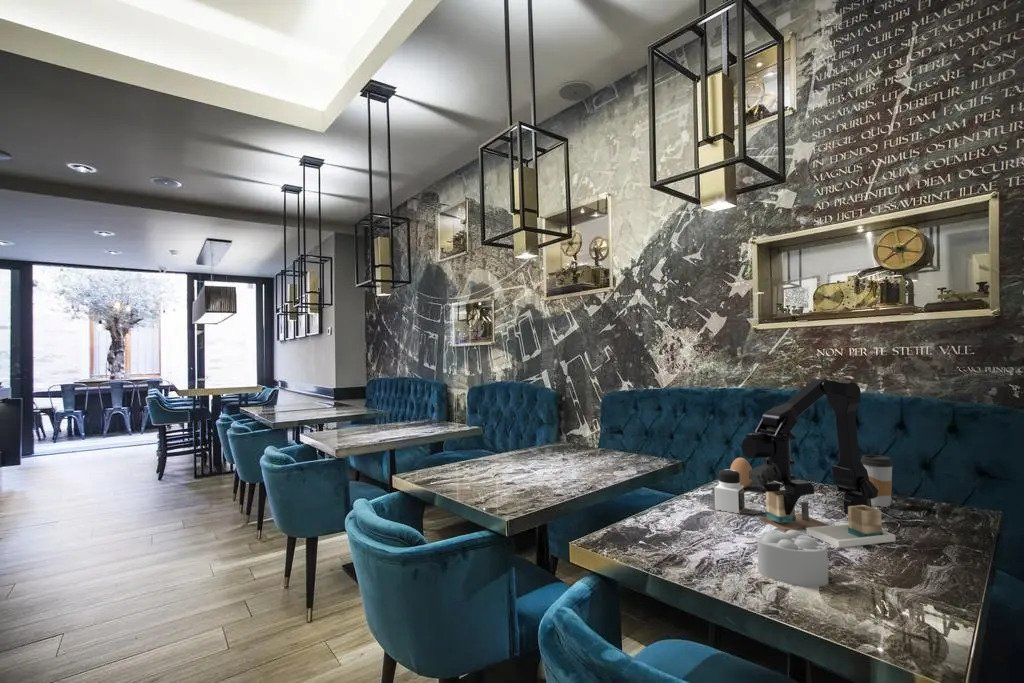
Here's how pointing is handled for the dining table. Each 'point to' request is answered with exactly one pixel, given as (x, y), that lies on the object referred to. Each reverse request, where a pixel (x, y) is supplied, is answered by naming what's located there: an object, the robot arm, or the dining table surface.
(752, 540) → the dining table surface
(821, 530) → the feeder tray
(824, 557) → the lumpy-topped squat cylinder
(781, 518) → the oak sleeve
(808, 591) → the dining table surface
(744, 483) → the egg
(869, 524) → the sleeve
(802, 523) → the pin board
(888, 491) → the coffee cup
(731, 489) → the medicine bottle
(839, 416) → the robot arm
